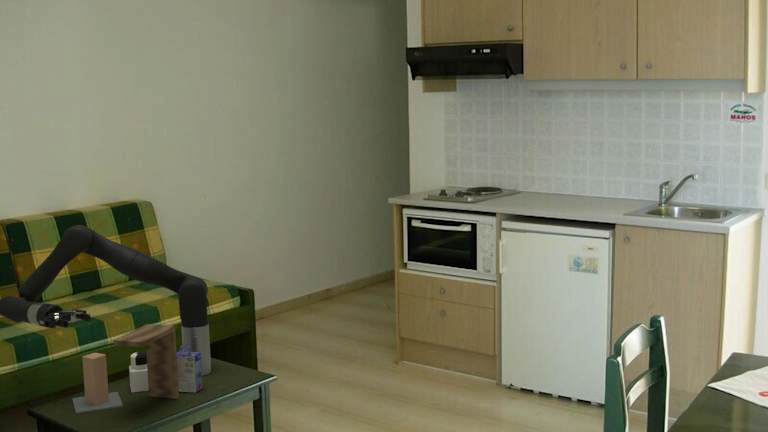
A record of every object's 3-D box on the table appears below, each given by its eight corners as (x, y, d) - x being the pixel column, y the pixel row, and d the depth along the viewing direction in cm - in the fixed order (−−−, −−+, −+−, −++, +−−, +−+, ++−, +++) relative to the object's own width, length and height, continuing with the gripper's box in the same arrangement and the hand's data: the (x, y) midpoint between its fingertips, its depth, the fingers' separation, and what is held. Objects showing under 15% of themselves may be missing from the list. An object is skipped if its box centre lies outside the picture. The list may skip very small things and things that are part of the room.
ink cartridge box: (203, 387, 303) (201, 345, 301) (196, 393, 298) (194, 349, 295) (175, 386, 305) (173, 344, 303) (168, 391, 300) (166, 348, 297)
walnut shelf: (118, 415, 279) (113, 340, 276) (151, 394, 297) (147, 324, 294) (146, 418, 276) (142, 342, 273) (178, 397, 294) (175, 325, 291)
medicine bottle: (152, 383, 308) (150, 349, 306) (153, 390, 301) (151, 354, 300) (130, 386, 306) (128, 351, 304) (131, 392, 299) (129, 357, 297)
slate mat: (72, 400, 293) (72, 398, 293) (117, 393, 299) (117, 391, 299) (76, 414, 281) (75, 412, 281) (123, 407, 286) (123, 405, 286)
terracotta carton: (85, 402, 289) (82, 356, 287) (98, 398, 293) (95, 352, 291) (96, 405, 286) (93, 358, 284) (108, 400, 290) (105, 354, 288)
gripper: (25, 308, 291) (59, 314, 283) (62, 299, 303) (96, 304, 294) (27, 331, 292) (61, 338, 284) (64, 321, 304) (97, 327, 296)
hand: (78, 321), depth 289 cm, fingers open, 8 cm apart
